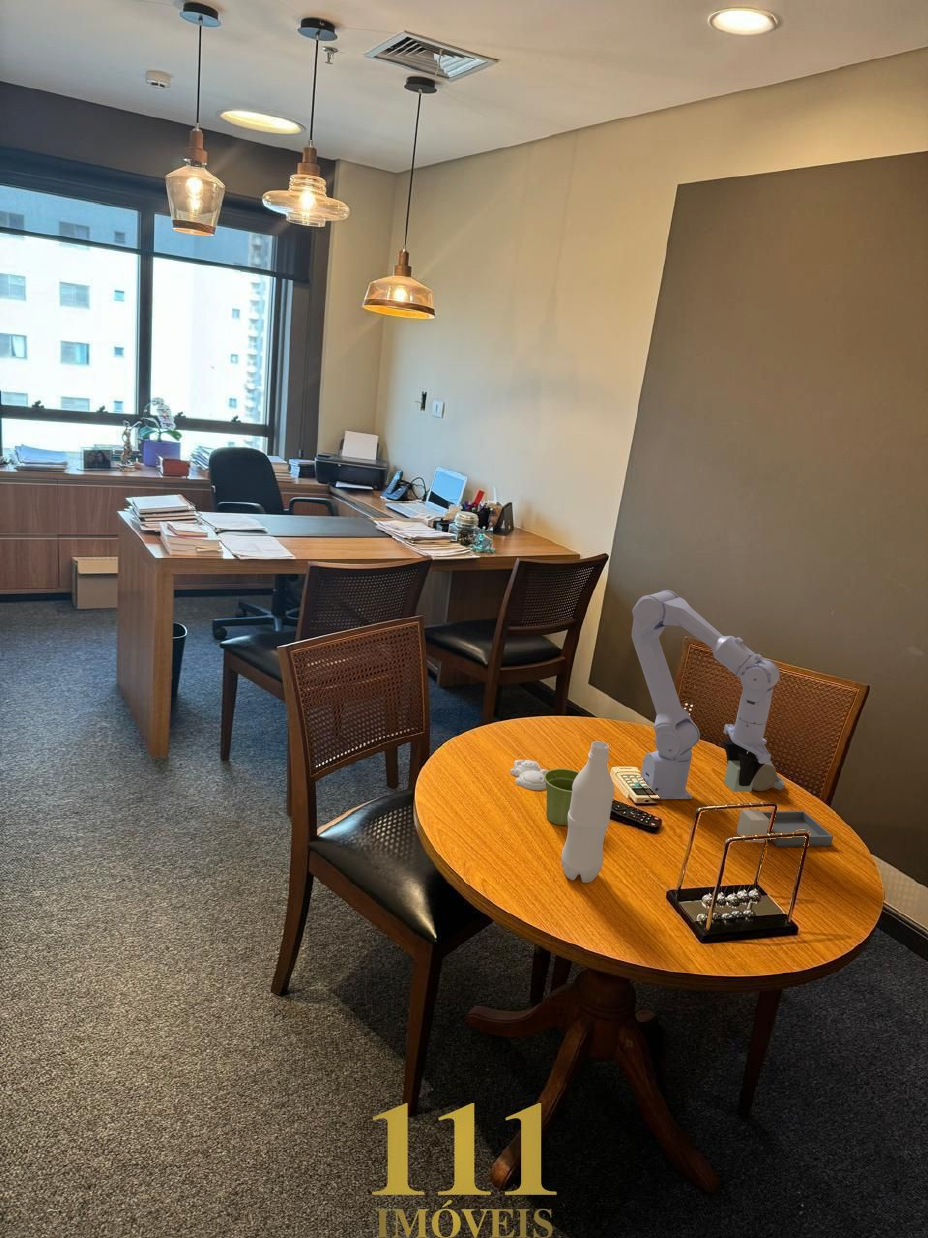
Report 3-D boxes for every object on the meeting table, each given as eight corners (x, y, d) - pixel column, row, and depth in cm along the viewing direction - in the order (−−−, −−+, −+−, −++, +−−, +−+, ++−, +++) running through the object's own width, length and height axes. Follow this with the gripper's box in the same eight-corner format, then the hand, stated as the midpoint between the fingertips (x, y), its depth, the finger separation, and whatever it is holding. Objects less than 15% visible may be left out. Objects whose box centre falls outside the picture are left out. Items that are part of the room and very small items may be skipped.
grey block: (746, 843, 162) (751, 820, 161) (736, 832, 166) (741, 810, 165) (764, 842, 163) (769, 820, 162) (754, 831, 167) (759, 809, 166)
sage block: (733, 791, 168) (738, 769, 167) (723, 782, 172) (728, 760, 170) (751, 791, 169) (756, 769, 168) (741, 782, 173) (745, 760, 171)
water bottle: (590, 892, 141) (612, 758, 134) (552, 876, 144) (572, 745, 137) (606, 873, 147) (628, 744, 140) (569, 858, 150) (589, 732, 143)
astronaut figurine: (546, 767, 187) (547, 755, 186) (553, 793, 175) (555, 780, 174) (507, 764, 186) (509, 752, 185) (512, 789, 174) (514, 776, 174)
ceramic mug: (743, 792, 184) (751, 760, 182) (731, 775, 192) (738, 744, 190) (789, 796, 185) (797, 765, 182) (775, 779, 192) (783, 749, 190)
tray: (777, 847, 162) (779, 837, 161) (750, 821, 171) (752, 811, 171) (830, 846, 164) (833, 836, 164) (801, 820, 174) (803, 810, 173)
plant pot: (594, 821, 164) (601, 782, 162) (566, 836, 158) (573, 796, 155) (557, 802, 170) (562, 764, 168) (528, 816, 164) (534, 777, 161)
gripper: (789, 734, 160) (775, 797, 164) (750, 705, 174) (738, 764, 178) (757, 733, 159) (743, 797, 162) (720, 704, 172) (708, 764, 176)
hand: (738, 780), depth 170 cm, fingers closed on sage block, 4 cm apart
